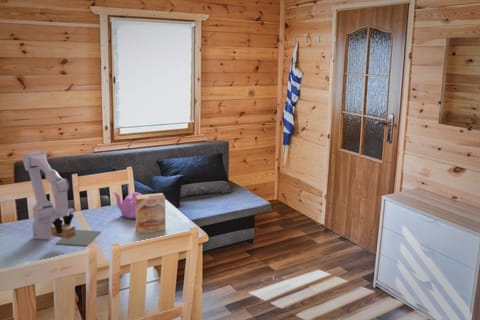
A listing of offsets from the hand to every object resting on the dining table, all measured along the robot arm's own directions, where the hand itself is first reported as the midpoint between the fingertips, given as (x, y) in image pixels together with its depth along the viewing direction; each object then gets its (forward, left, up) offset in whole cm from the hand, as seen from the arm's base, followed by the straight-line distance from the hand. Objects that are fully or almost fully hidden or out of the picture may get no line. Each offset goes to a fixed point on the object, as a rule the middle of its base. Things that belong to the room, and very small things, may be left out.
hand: (63, 230), depth 229 cm
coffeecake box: (+36, +27, -9) cm, 46 cm away
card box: (0, 0, -2) cm, 2 cm away
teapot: (+19, +47, -9) cm, 51 cm away
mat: (+3, +11, -8) cm, 14 cm away
